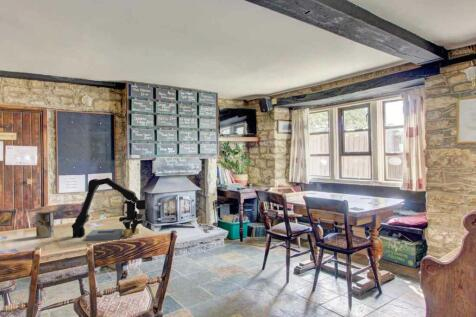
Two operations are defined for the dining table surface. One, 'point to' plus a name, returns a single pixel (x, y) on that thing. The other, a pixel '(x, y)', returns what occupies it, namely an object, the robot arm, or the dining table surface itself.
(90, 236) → the keyed plate
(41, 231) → the coffee box
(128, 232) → the bar
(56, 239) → the dining table surface
